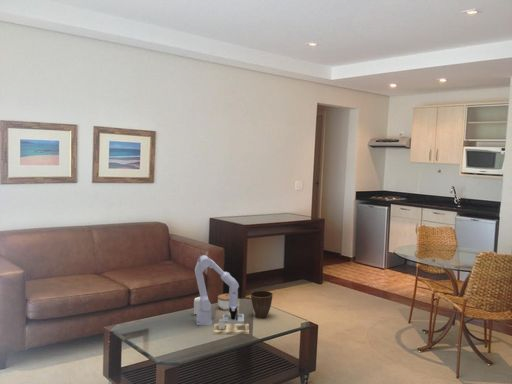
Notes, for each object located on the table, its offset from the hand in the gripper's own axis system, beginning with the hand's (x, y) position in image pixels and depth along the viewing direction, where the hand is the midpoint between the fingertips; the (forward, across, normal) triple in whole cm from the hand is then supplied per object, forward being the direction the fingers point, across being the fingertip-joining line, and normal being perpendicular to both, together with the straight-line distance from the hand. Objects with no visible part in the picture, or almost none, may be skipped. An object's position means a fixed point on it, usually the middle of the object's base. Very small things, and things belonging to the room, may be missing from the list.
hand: (233, 318), depth 318 cm
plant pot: (+2, +8, -19) cm, 21 cm away
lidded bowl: (+2, +25, +5) cm, 26 cm away
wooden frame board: (+2, -16, +1) cm, 16 cm away
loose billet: (+1, 0, 0) cm, 1 cm away
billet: (+2, -16, +7) cm, 18 cm away
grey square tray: (+2, 0, 0) cm, 2 cm away
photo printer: (+2, +13, +22) cm, 26 cm away
